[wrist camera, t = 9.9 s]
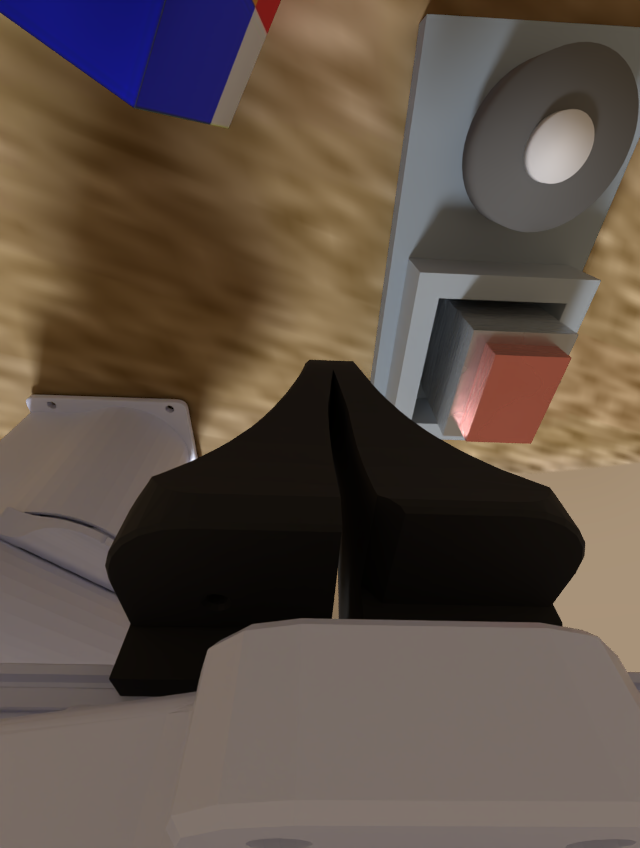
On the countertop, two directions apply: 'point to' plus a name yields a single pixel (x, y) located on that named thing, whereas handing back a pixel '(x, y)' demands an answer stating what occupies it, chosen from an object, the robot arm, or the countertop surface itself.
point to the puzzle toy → (157, 48)
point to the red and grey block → (494, 368)
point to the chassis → (455, 214)
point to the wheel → (551, 137)
